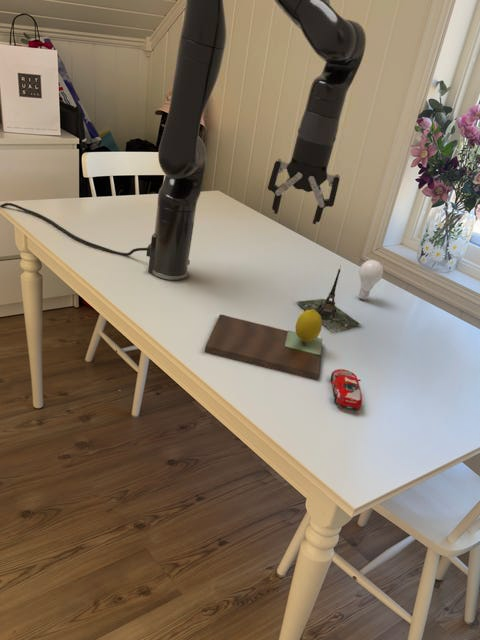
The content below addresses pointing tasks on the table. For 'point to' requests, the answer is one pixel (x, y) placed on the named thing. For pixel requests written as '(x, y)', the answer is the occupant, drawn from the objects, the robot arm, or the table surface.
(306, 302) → the eiffel tower souvenir
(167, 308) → the table surface
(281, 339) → the board
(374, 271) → the lightbulb
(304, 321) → the lemon
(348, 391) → the race car
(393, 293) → the table surface
